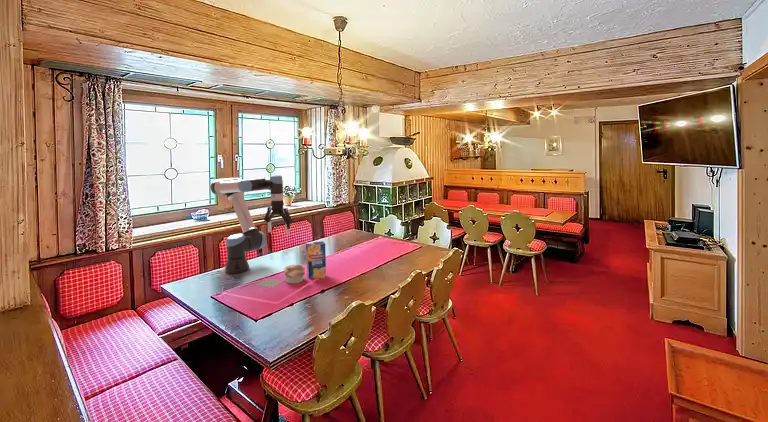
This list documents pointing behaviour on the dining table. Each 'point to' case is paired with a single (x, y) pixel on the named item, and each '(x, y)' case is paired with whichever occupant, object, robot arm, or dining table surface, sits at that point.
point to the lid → (294, 270)
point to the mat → (269, 283)
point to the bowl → (294, 279)
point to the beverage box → (316, 260)
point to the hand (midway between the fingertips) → (278, 232)
